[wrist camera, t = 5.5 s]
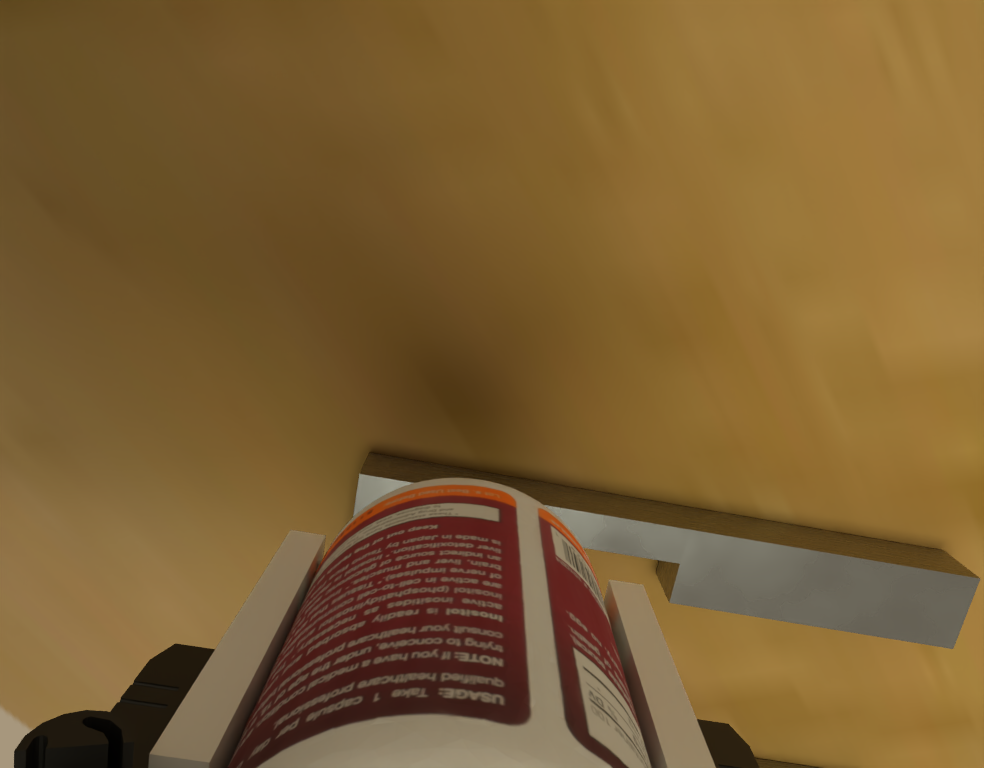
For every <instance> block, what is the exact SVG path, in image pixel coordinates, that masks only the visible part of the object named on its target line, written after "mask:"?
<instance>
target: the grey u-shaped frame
mask: <svg viewBox="0 0 984 768" xmlns="http://www.w3.org/2000/svg"><path fill="white" fill-rule="evenodd" d="M441 478H469V479H478V480H485V481H490V482H494V483H498V484H502V485H504V486H507V487H510V488H513V489H516V490H518V491H520V492H522V493H524V494H526V495H528V496H530V497H531V498H533V499H535V500H537V501H538V502H540V503H541V504H543V505H544V506H545V507H547V508H548V509H549V510H551V511H552V512H553V513H554V514H555V515H557V516H558V517H559V518H560V519H561V520H562V521H563V522H564V523H565V524H566V525H567V526H568V527H569V528H570V530H571V531H572V532H573V534H574V535H575V536H576V538H577V539H578V541H579V542H580V544H581V545H582V547H583V548H588V549H594V550H600V551H606V552H612V553H618V554H624V555H630V556H636V557H642V558H648V559H654V560H659V563H658V567H657V571H656V574H657V576H658V579H659V581H660V583H661V585H662V587H663V590H664V592H665V594H666V596H667V599H668V601H669V603H675V604H681V605H687V606H693V607H699V608H705V609H711V610H718V611H724V612H730V613H736V614H742V615H748V616H754V617H760V618H767V619H773V620H779V621H785V622H791V623H797V624H803V625H809V626H816V627H822V628H828V629H834V630H840V631H846V632H852V633H858V634H865V635H871V636H877V637H883V638H889V639H895V640H901V641H907V642H914V643H920V644H926V645H932V646H938V647H944V648H950V649H953V648H954V645H955V643H956V640H957V638H958V635H959V632H960V630H961V627H962V625H963V622H964V620H965V617H966V614H967V612H968V609H969V607H970V604H971V601H972V599H973V596H974V594H975V591H976V589H977V586H978V583H979V581H980V578H979V577H978V576H976V575H975V574H974V573H972V572H971V571H970V570H968V569H967V568H966V567H965V566H963V565H962V564H961V563H959V562H958V561H957V560H955V559H954V558H953V557H952V556H950V555H949V554H948V553H946V552H945V551H944V550H938V549H932V548H926V547H920V546H915V545H909V544H903V543H897V542H891V541H885V540H879V539H874V538H868V537H862V536H856V535H850V534H844V533H838V532H832V531H827V530H821V529H815V528H809V527H803V526H797V525H791V524H786V523H780V522H774V521H768V520H762V519H756V518H750V517H744V516H739V515H733V514H727V513H721V512H715V511H709V510H703V509H698V508H692V507H686V506H680V505H674V504H668V503H662V502H656V501H651V500H645V499H639V498H633V497H627V496H621V495H615V494H610V493H604V492H598V491H592V490H586V489H580V488H574V487H569V486H563V485H557V484H551V483H545V482H539V481H533V480H527V479H522V478H516V477H510V476H504V475H498V474H492V473H486V472H481V471H475V470H469V469H463V468H457V467H451V466H445V465H439V464H434V463H428V462H422V461H416V460H410V459H404V458H398V457H393V456H387V455H381V454H375V453H369V455H368V457H367V459H366V461H365V463H364V465H363V467H362V470H361V472H360V474H359V481H358V488H357V494H356V501H355V508H354V515H353V517H354V516H355V515H356V514H358V513H359V512H360V511H361V510H362V509H364V508H365V507H366V506H368V505H369V504H370V503H372V502H373V501H375V500H377V499H378V498H380V497H382V496H384V495H386V494H387V493H390V492H392V491H394V490H396V489H398V488H401V487H404V486H407V485H410V484H413V483H417V482H421V481H426V480H433V479H441ZM755 759H756V761H757V763H758V765H759V767H760V768H816V767H810V766H803V765H797V764H790V763H784V762H777V761H771V760H764V759H757V758H755Z"/></svg>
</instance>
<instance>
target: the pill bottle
mask: <svg viewBox="0 0 984 768" xmlns="http://www.w3.org/2000/svg"><path fill="white" fill-rule="evenodd" d="M227 768H651V764H650V761H649V757H648V754H647V751H646V747H645V744H644V741H643V738H642V734H641V730H640V727H639V723H638V719H637V716H636V713H635V709H634V706H633V703H632V699H631V696H630V692H629V689H628V686H627V682H626V679H625V675H624V672H623V668H622V664H621V660H620V657H619V653H618V650H617V646H616V643H615V640H614V636H613V633H612V629H611V626H610V622H609V618H608V615H607V611H606V608H605V604H604V601H603V598H602V594H601V591H600V587H599V583H598V579H597V577H596V575H595V573H594V570H593V568H592V565H591V563H590V561H589V558H588V556H587V554H586V552H585V551H584V549H583V547H582V545H581V544H580V542H579V541H578V539H577V538H576V536H575V535H574V534H573V532H572V531H571V530H570V528H569V527H568V526H567V525H566V524H565V523H564V522H563V521H562V520H561V519H560V518H559V517H558V516H557V515H555V514H554V513H553V512H552V511H551V510H549V509H548V508H547V507H545V506H544V505H543V504H541V503H540V502H538V501H537V500H535V499H533V498H531V497H530V496H528V495H526V494H524V493H522V492H520V491H518V490H516V489H513V488H510V487H507V486H504V485H502V484H498V483H494V482H490V481H485V480H478V479H469V478H441V479H433V480H426V481H421V482H417V483H413V484H410V485H407V486H404V487H401V488H398V489H396V490H394V491H392V492H390V493H387V494H386V495H384V496H382V497H380V498H378V499H377V500H375V501H373V502H372V503H370V504H369V505H368V506H366V507H365V508H364V509H362V510H361V511H360V512H359V513H358V514H356V515H355V516H354V517H353V518H352V519H351V520H350V521H349V522H348V523H347V524H346V525H345V527H344V528H343V529H342V530H341V531H340V532H339V534H338V535H337V537H336V538H335V539H334V541H333V542H332V544H331V546H330V548H329V549H328V551H327V553H326V554H325V556H324V558H323V560H322V562H321V563H320V565H319V567H318V569H317V571H316V573H315V576H314V578H313V581H312V583H311V585H310V587H309V590H308V592H307V594H306V596H305V598H304V601H303V603H302V605H301V607H300V609H299V611H298V614H297V616H296V618H295V620H294V622H293V624H292V627H291V629H290V631H289V633H288V636H287V638H286V640H285V642H284V644H283V647H282V649H281V651H280V653H279V655H278V657H277V659H276V661H275V664H274V666H273V668H272V670H271V672H270V675H269V677H268V679H267V681H266V683H265V685H264V688H263V690H262V692H261V694H260V696H259V699H258V701H257V703H256V705H255V708H254V709H253V711H252V713H251V715H250V717H249V719H248V721H247V724H246V727H245V729H244V732H243V734H242V736H241V739H240V741H239V743H238V745H237V748H236V750H235V752H234V754H233V756H232V758H231V760H230V763H229V765H228V767H227Z"/></svg>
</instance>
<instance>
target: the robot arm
mask: <svg viewBox="0 0 984 768" xmlns="http://www.w3.org/2000/svg"><path fill="white" fill-rule="evenodd" d="M325 537H326V535H320V534H314V533H307V532H301V531H294V530H290V532H289V533H288V535H287V536H286V538H285V539H284V541H283V543H282V544H281V546H280V547H279V549H278V551H277V552H276V554H275V555H274V557H273V559H272V560H271V562H270V563H269V565H268V566H267V568H266V570H265V571H264V573H263V574H262V576H261V578H260V579H259V581H258V582H257V584H256V585H255V587H254V589H253V590H252V592H251V593H250V595H249V597H248V598H247V600H246V601H245V603H244V605H243V606H242V608H241V609H240V611H239V612H238V614H237V616H236V617H235V619H234V620H233V622H232V624H231V625H230V627H229V628H228V630H227V631H226V633H225V635H224V636H223V638H222V639H221V641H220V643H219V644H218V646H217V647H216V649H208V648H202V647H195V646H188V645H181V644H174V645H172V646H171V647H169V648H168V649H166V650H165V651H163V652H161V653H160V654H158V655H157V656H155V657H153V658H152V659H150V660H149V662H148V663H147V664H146V666H145V667H144V668H143V669H142V671H141V672H140V673H139V675H138V676H137V677H136V679H135V680H134V683H133V685H130V687H129V688H128V689H127V690H126V692H125V693H124V694H123V696H122V697H121V700H120V702H117V704H116V705H115V706H114V708H113V709H112V710H111V712H107V711H92V710H85V711H79V712H73V713H68V714H63V715H61V716H58V717H56V718H54V719H51V720H49V721H46V722H44V723H42V724H41V725H39V726H38V727H36V728H35V729H34V730H32V731H31V732H30V733H28V734H27V735H25V737H24V738H23V740H22V741H21V742H20V744H19V745H18V747H17V748H16V749H15V751H14V768H227V767H228V765H229V763H230V760H231V758H232V756H233V754H234V752H235V750H236V748H237V745H238V743H239V741H240V739H241V736H242V734H243V732H244V729H245V727H246V724H247V721H248V719H249V717H250V715H251V713H252V711H253V709H254V708H255V705H256V703H257V701H258V699H259V696H260V694H261V692H262V690H263V688H264V685H265V683H266V681H267V679H268V677H269V675H270V672H271V670H272V668H273V666H274V664H275V661H276V659H277V657H278V655H279V653H280V651H281V649H282V647H283V644H284V642H285V640H286V638H287V636H288V633H289V631H290V629H291V627H292V624H293V622H294V620H295V618H296V616H297V614H298V611H299V609H300V607H301V605H302V603H303V601H304V598H305V596H306V594H307V592H308V590H309V587H310V585H311V583H312V581H313V578H314V576H315V573H316V571H317V569H318V567H319V565H320V563H321V562H322V560H323V553H324V545H325ZM604 604H605V608H606V611H607V615H608V618H609V622H610V626H611V629H612V633H613V636H614V640H615V643H616V646H617V650H618V653H619V657H620V660H621V664H622V668H623V672H624V675H625V679H626V682H627V686H628V689H629V692H630V696H631V699H632V703H633V706H634V709H635V713H636V716H637V719H638V723H639V727H640V730H641V734H642V738H643V741H644V744H645V747H646V751H647V754H648V757H649V761H650V764H651V768H760V767H759V765H758V763H757V761H756V759H755V757H754V755H753V753H752V751H751V749H750V746H749V745H748V744H747V743H746V742H745V741H744V740H743V739H742V738H741V737H740V736H739V735H738V734H737V733H736V732H735V730H734V729H733V728H732V727H731V726H730V725H729V724H725V723H719V722H712V721H705V720H699V719H696V717H695V714H694V712H693V709H692V707H691V704H690V702H689V699H688V696H687V694H686V691H685V689H684V686H683V684H682V681H681V679H680V676H679V674H678V671H677V669H676V666H675V664H674V661H673V659H672V656H671V654H670V651H669V649H668V646H667V644H666V641H665V639H664V636H663V634H662V631H661V629H660V626H659V624H658V621H657V619H656V616H655V614H654V611H653V609H652V606H651V604H650V601H649V599H648V596H647V594H646V591H645V589H644V586H643V585H641V584H635V583H628V582H622V581H615V580H609V582H608V586H607V590H606V595H605V599H604Z"/></svg>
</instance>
